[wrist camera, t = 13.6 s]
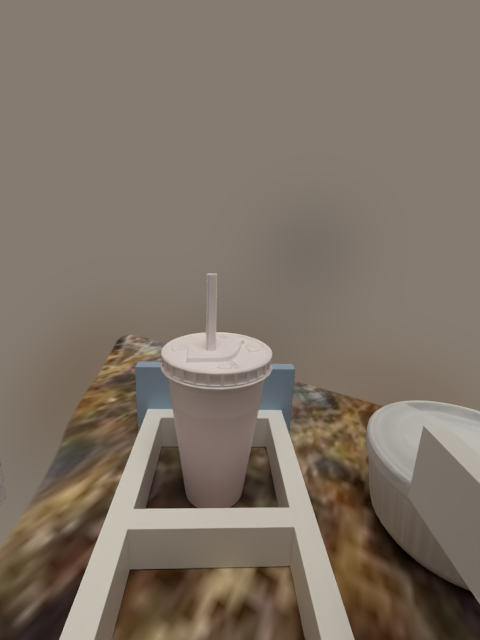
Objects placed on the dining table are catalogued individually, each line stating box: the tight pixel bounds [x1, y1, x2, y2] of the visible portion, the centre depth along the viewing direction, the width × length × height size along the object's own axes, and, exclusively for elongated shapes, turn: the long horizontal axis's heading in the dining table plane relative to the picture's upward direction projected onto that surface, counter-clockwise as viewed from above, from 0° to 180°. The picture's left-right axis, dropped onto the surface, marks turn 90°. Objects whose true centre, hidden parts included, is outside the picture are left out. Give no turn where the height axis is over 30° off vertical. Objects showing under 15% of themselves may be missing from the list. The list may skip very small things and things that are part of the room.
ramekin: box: [366, 401, 480, 591], centre depth 20 cm, size 11×11×5 cm
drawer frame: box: [59, 362, 354, 640], centre depth 18 cm, size 12×20×6 cm, turn 3°
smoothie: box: [161, 273, 273, 508], centre depth 20 cm, size 6×6×14 cm
